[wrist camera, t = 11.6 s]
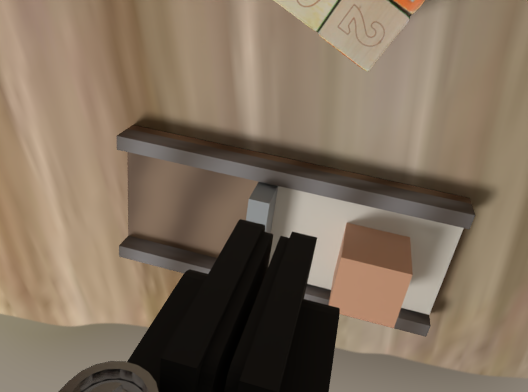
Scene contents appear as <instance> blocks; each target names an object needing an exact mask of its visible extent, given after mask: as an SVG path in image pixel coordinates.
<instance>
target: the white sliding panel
mask: <svg viewBox="0 0 528 392" xmlns="http://www.w3.org/2000/svg"><path fill="white" fill-rule="evenodd" d="M246 220H247V221H251V222H255V223H259V224H263V225H265V232H268V233H272V234H273V241H272V247H271V253H270V259H269V264H270V261H271V259H272V256H273V254H274V251H275V249H276V246H277V243H278V241H279V238H280V236H284V237H288V238H290V235H291V233H292V232H297V233H301V234H305V235H309V236H313V237H317V241H316V246H315V251H314V255H313V260H312V264H311V269H310V273H309V278H308V282H307V284H310V285H314V286H318V287H322V288H326V289H330V290H331V288H332V282H333V276H334V271H335V267H336V263H337V259H338V255H339V251H340V247H341V243H342V239H343V235H344V231H345V227H346V224H347V223H351V224H355V225H360V226H364V227H368V228H372V229H377V230H381V231H385V232H390V233H394V234H398V235H402V236H407V237H410V244H411V258H412V272H413V275H412V278H411V281H410V284H409V287H408V290H407V292H406V295H405V298H404V301H403V304H402V306H401V308H404V309H408V310H412V311H416V312H420V313H424V314H428V315H429V314H430V312H431V309H432V307H433V304H434V302H435V299H436V297H437V294H438V292H439V289H440V287H441V284H442V282H443V279H444V277H445V274H446V271H447V269H448V266H449V264H450V261H451V259H452V256H453V254H454V251H455V249H456V246H457V244H458V241H459V239H460V236H461V234H462V231H463V229H464V228H461V227H457V226H453V225H448V224H444V223H439V222H435V221H430V220H426V219H422V218H417V217H413V216H408V215H404V214H400V213H395V212H391V211H386V210H382V209H377V208H373V207H369V206H364V205H360V204H355V203H351V202H346V201H342V200H338V199H333V198H329V197H324V196H320V195H316V194H311V193H307V192H302V191H298V190H293V189H289V188H285V187H280V186H276V185H271V184H267V183H263V182H258V184H257V185H256V187H255V189H254V191H253V192H252V194H251V196H250V198H249V201H248V208H247V216H246ZM268 267H269V265H268Z"/></svg>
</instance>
